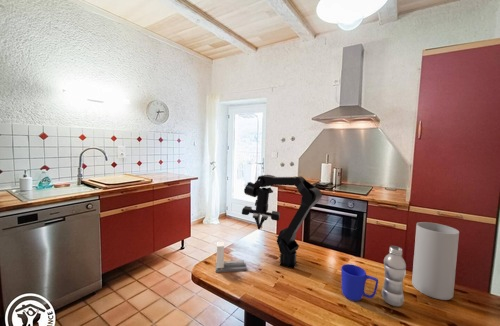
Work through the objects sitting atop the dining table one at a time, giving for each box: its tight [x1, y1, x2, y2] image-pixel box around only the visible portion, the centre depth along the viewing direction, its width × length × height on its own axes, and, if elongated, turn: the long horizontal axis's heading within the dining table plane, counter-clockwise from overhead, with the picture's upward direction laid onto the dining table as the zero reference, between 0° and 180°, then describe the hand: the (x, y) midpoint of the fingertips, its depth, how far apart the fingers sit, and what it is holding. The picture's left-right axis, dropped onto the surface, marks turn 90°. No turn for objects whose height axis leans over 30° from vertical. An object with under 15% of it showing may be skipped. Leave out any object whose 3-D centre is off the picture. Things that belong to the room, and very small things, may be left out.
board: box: [215, 262, 247, 273], centre depth 99 cm, size 13×6×1 cm, turn 99°
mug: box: [340, 263, 379, 302], centre depth 81 cm, size 8×12×10 cm
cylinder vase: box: [411, 221, 460, 301], centre depth 86 cm, size 12×12×25 cm
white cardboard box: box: [216, 241, 225, 268], centre depth 98 cm, size 3×5×10 cm, turn 9°
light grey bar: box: [224, 260, 245, 267], centre depth 99 cm, size 12×2×2 cm, turn 99°
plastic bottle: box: [381, 245, 407, 307], centre depth 79 cm, size 6×7×20 cm
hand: (259, 229), depth 114 cm, fingers closed
